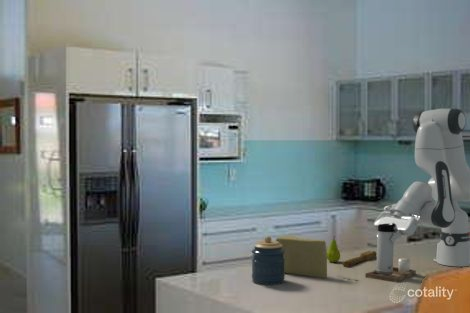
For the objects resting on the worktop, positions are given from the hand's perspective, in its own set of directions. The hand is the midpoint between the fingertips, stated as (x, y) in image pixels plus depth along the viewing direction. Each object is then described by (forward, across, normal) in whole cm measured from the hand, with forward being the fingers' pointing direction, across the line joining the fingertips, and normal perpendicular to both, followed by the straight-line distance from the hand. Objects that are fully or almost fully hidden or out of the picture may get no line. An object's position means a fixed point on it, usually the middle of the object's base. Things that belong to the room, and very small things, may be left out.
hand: (384, 239), depth 240 cm
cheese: (+28, +23, +5) cm, 36 cm away
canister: (+41, +19, +19) cm, 49 cm away
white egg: (+4, -1, -17) cm, 17 cm away
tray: (+9, 0, -13) cm, 16 cm away
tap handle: (+2, +32, -21) cm, 38 cm away
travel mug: (+10, 0, -10) cm, 14 cm away
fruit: (+10, +37, -12) cm, 40 cm away
